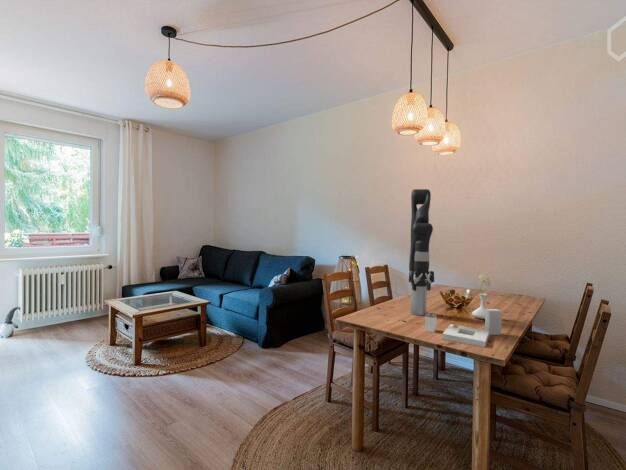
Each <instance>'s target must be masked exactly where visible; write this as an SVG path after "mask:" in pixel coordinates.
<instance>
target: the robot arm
mask: <svg viewBox="0 0 626 470" xmlns="http://www.w3.org/2000/svg"><path fill="white" fill-rule="evenodd" d="M410 200H411V201H410V202H411V220H410V221H411V223H410V248H409V249H410V253H409V260H408V261H409V263H408V265H409V266H408V270H409V273H408V283H411V284H410V287H411V288H410V314H411V315H415V316H425V315H426V314H427V311H428V310H427V309H428V307H427V305H428V301H427V300H428V291H431V289H432V283H435V272H434V271H432V270H429V269H430V241H431V237H432V234H433V230H434V227H433V225H432V224H431V223H430V218H429V217H430V215H429V214H430V213H429V211H430V206H431V191H430V189H425V188H424V189H423V188H422V189H420V188H419V189H418V188H417V189H412V190H411V196H410ZM417 205H421V206H419V208H418V207H417Z"/></svg>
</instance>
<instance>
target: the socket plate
mask: <svg viewBox="0 0 626 470" xmlns="http://www.w3.org/2000/svg"><path fill="white" fill-rule="evenodd" d="M489 332H490V331H488V330H485V329H481V328H476V327H469V326H462V325H458V324H452V323H450V324H449V325H448V326H447V327H446V329H445V330H444V332H443V333H442V340H445V341H451V342H456V343H461V344H465V345H466V344H467V345H471V346H475V345H476V346H477V347H481V346H482V348H486V346H487V343H488V341H489V338H490V335H489Z"/></svg>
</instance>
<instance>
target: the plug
mask: <svg viewBox="0 0 626 470" xmlns="http://www.w3.org/2000/svg"><path fill="white" fill-rule="evenodd" d="M424 331H425V332H430V333H435V332H436V331H437V314H435V313H434V314H433V313H427V314H426V315H424Z"/></svg>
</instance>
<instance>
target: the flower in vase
mask: <svg viewBox="0 0 626 470" xmlns="http://www.w3.org/2000/svg"><path fill="white" fill-rule="evenodd" d="M478 277H479V280H480V282H481V284H480V286H478V288H477V290H479V291H480V292H481V293H478V296H479V297H480V306H479V307H478V308H476V309H475V310H473V311H472V312H471V315H472V316H473V317H475V318H478V319H483V320H485V309H488V308H487V307H486V299H487V297H488V296H489V294H488V293H483V292H485V291H487V290H488V289H487V288H486V289H484V290H482V286H483V285H485V287H490V286H491V282H490V279H489V278H488V277H487V276H486V275H483V273H482V274H480V275H478Z"/></svg>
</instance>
